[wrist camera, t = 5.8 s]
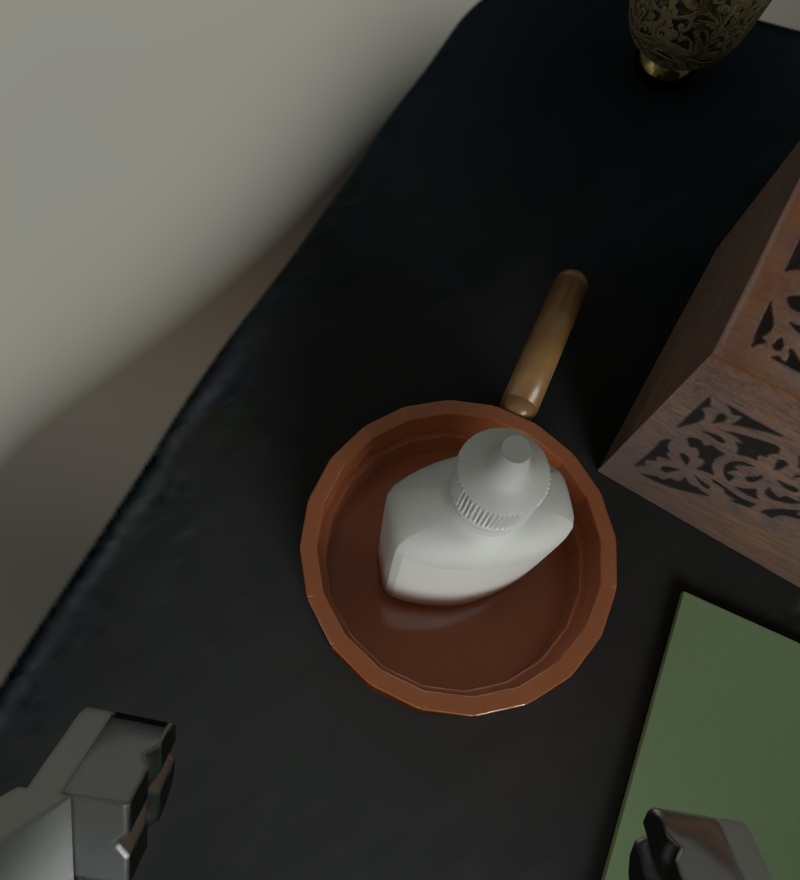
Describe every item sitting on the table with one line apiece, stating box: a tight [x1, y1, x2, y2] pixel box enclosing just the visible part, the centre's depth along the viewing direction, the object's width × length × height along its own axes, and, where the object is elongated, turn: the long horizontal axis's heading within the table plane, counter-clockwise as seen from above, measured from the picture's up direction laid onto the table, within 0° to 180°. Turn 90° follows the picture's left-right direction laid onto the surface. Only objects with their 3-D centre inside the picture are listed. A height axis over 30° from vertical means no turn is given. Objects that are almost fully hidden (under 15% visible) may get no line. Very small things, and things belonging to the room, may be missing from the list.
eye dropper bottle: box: [378, 427, 574, 606], centre depth 21 cm, size 4×6×12 cm
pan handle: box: [500, 269, 588, 421], centre depth 27 cm, size 8×2×2 cm, turn 155°
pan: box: [300, 400, 617, 716], centre depth 25 cm, size 11×11×4 cm
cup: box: [628, 0, 772, 90], centre depth 35 cm, size 8×7×8 cm
